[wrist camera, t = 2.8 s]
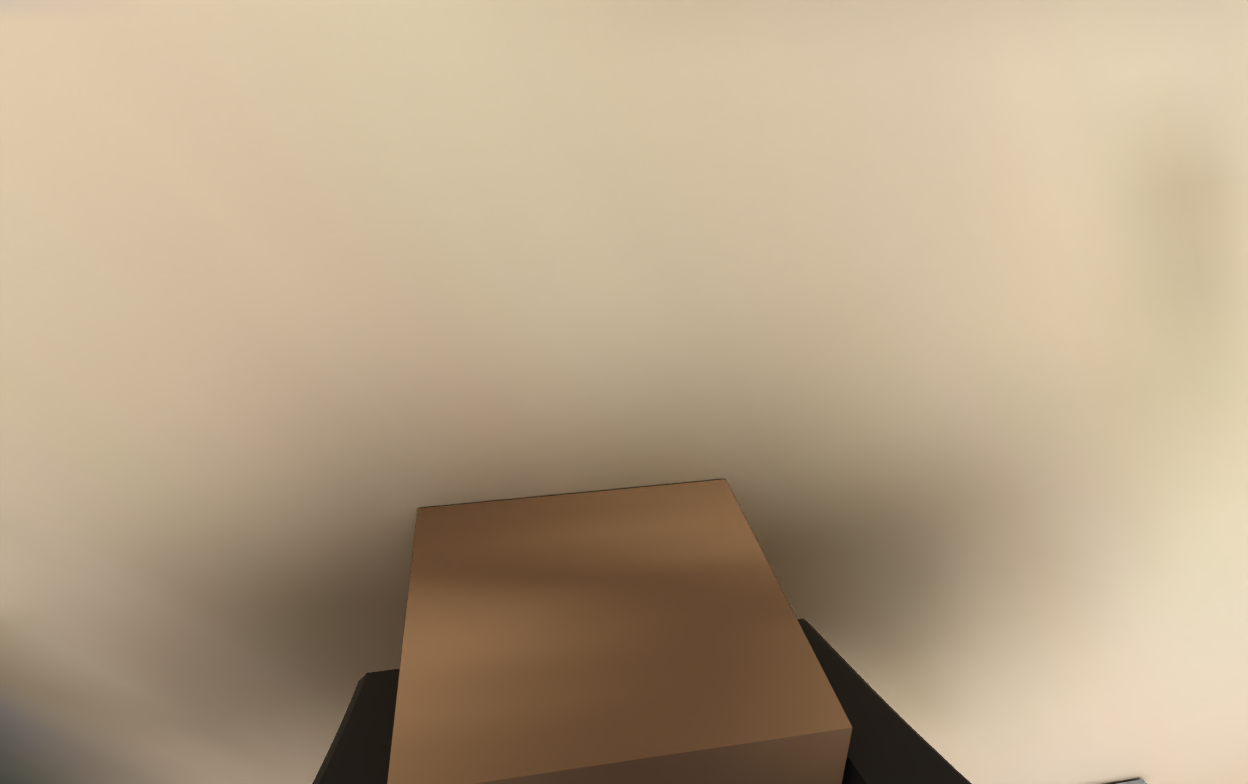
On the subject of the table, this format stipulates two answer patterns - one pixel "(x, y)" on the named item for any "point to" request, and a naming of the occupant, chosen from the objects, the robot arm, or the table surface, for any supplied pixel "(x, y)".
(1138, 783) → the mat
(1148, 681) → the table surface
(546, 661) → the walnut cube
